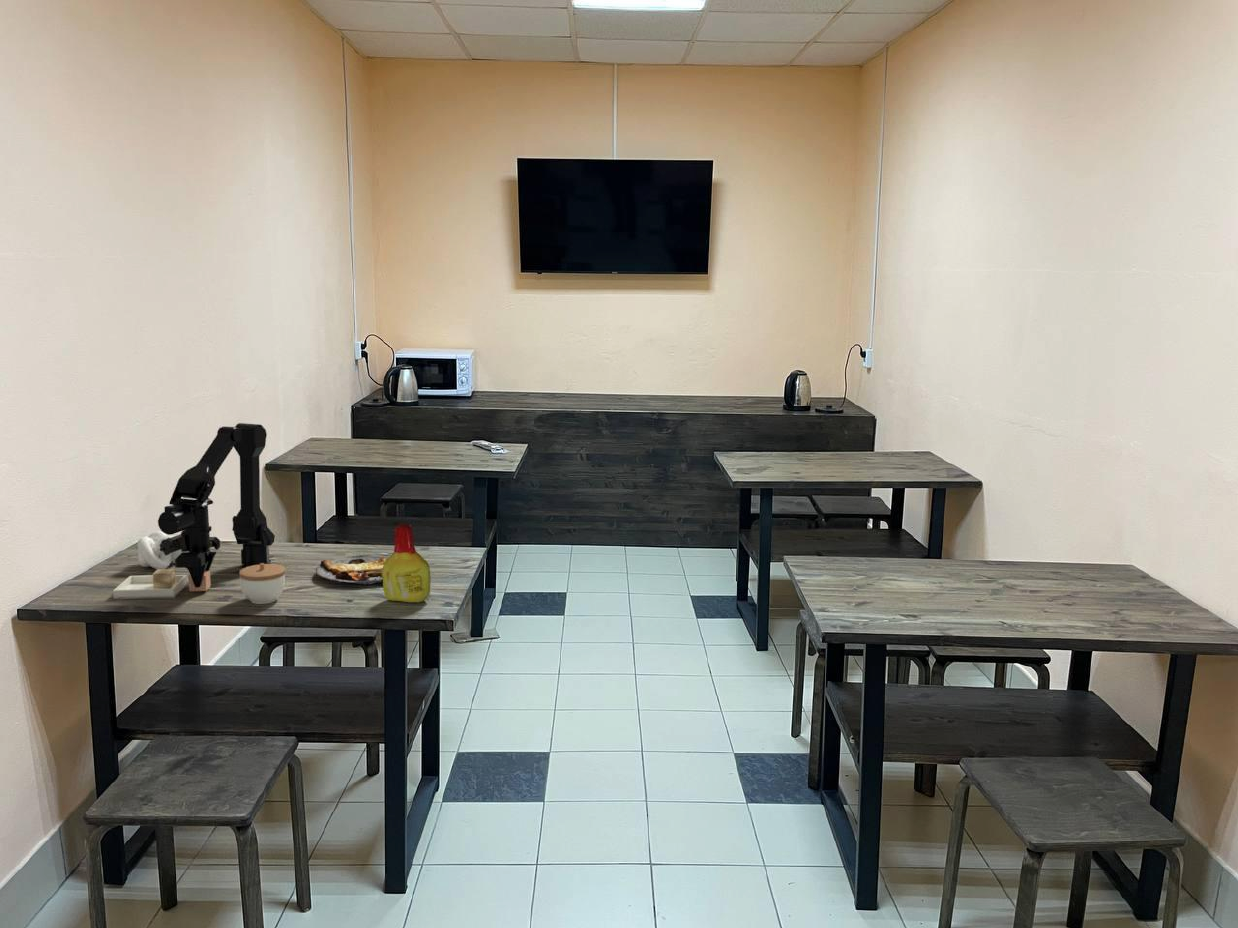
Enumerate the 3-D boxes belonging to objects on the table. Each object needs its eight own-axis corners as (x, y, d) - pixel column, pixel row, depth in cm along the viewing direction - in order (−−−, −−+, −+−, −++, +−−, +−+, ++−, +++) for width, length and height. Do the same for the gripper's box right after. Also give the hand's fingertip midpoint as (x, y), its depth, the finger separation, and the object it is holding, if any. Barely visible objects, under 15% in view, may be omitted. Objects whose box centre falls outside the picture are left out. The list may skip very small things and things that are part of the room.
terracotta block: (210, 585, 247) (209, 570, 246) (206, 590, 243) (205, 575, 242) (194, 586, 246) (193, 571, 245) (189, 591, 242) (188, 575, 242)
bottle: (379, 603, 239) (377, 525, 235) (388, 595, 245) (386, 519, 242) (425, 606, 238) (424, 528, 234) (433, 598, 244) (432, 521, 240)
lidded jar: (243, 609, 232) (241, 572, 231) (238, 596, 242) (236, 560, 240) (289, 603, 237) (288, 567, 235) (282, 591, 246) (281, 555, 245)
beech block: (175, 583, 248) (174, 568, 248) (170, 588, 244) (169, 573, 244) (158, 583, 248) (157, 569, 247) (153, 588, 244) (152, 573, 243)
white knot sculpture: (169, 574, 258) (167, 541, 256) (124, 572, 258) (122, 540, 256) (188, 561, 269) (186, 530, 267) (146, 560, 269) (144, 529, 268)
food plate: (321, 591, 247) (321, 578, 246) (310, 567, 267) (310, 554, 267) (418, 584, 257) (419, 571, 256) (400, 561, 278) (400, 549, 277)
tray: (187, 582, 251) (187, 574, 250) (173, 597, 239) (173, 589, 239) (130, 583, 249) (130, 575, 248) (113, 599, 237) (113, 590, 237)
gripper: (174, 516, 249) (177, 573, 252) (150, 534, 231) (154, 597, 234) (219, 515, 251) (222, 573, 254) (199, 534, 233) (202, 596, 236)
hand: (200, 584), depth 244 cm, fingers closed on terracotta block, 4 cm apart
